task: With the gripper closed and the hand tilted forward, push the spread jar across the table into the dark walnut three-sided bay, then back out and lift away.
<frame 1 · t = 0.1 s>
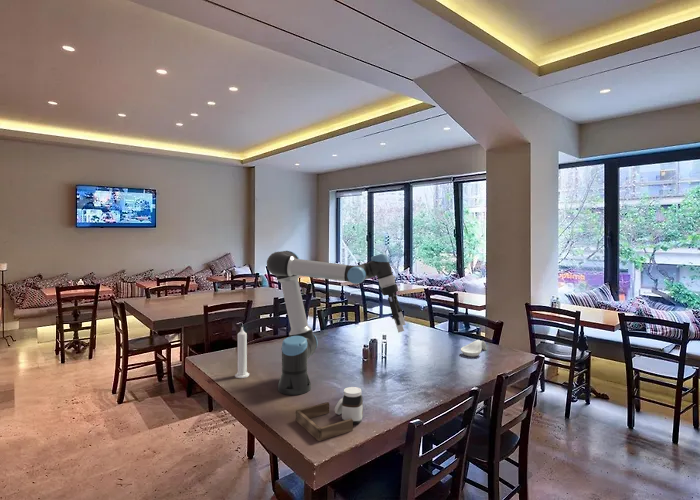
hand: (402, 328, 186), 28 cm above the table, tool tilted 20°, fingers open, 13 cm apart
spread jar: (348, 418, 154), on the table
walnut bay: (326, 424, 149), on the table
candle: (242, 376, 201), on the table
spoon rest: (475, 353, 242), on the table
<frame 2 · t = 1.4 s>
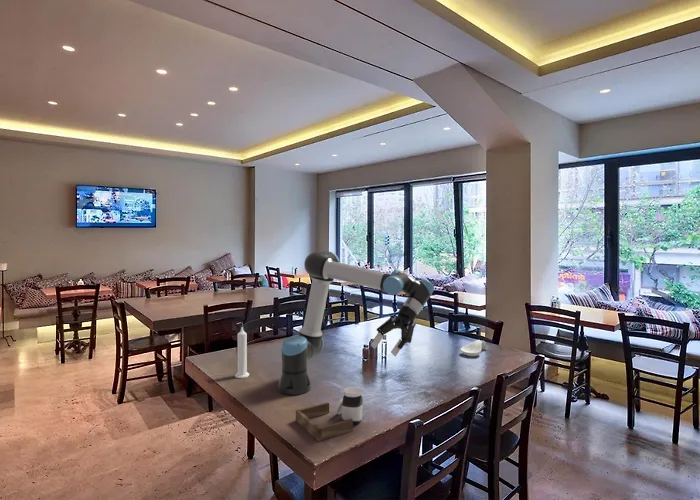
hand: (382, 350, 163), 24 cm above the table, tool tilted 45°, fingers open, 13 cm apart
nothing on the table moved.
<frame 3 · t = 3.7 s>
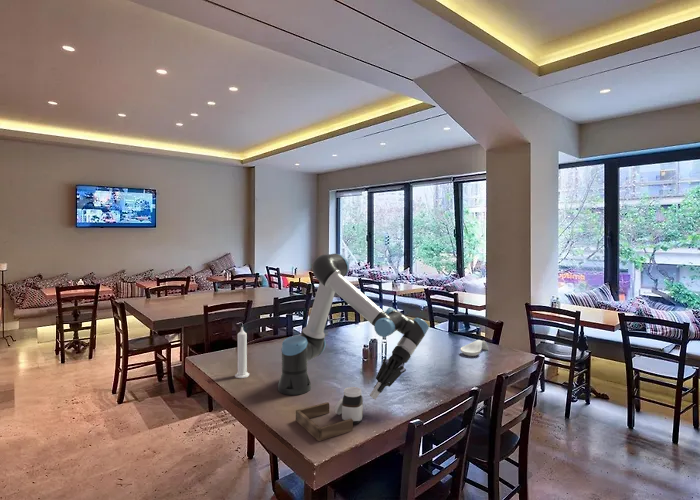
hand: (372, 397, 160), 6 cm above the table, tool tilted 45°, fingers closed
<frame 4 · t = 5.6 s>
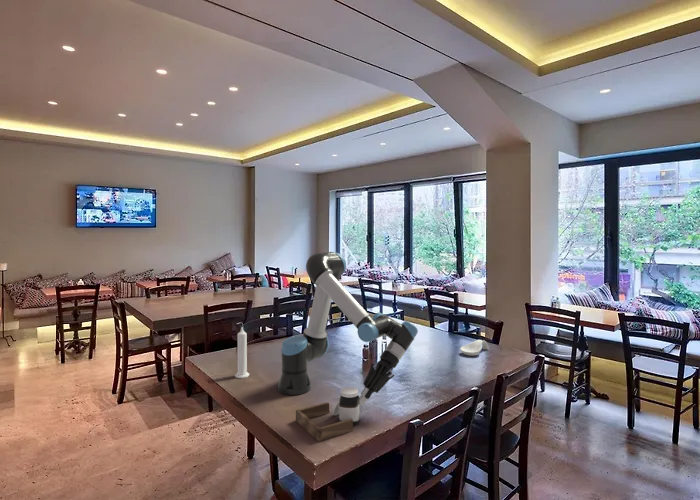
hand: (359, 404, 156), 5 cm above the table, tool tilted 45°, fingers closed
spread jar: (345, 419, 153), on the table, touching gripper
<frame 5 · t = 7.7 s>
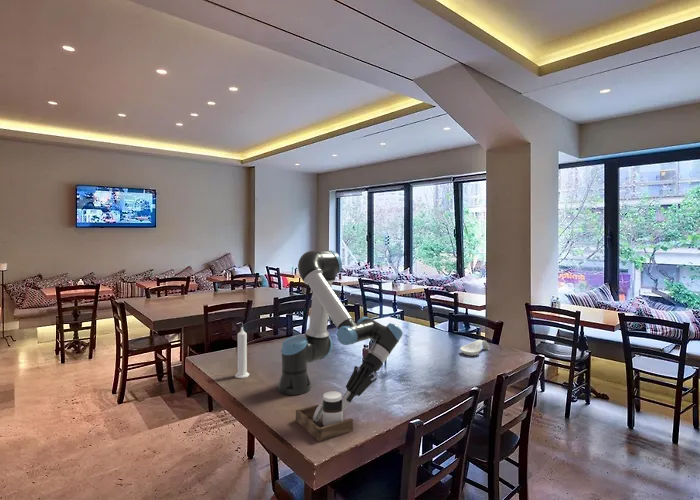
hand: (341, 407, 152), 5 cm above the table, tool tilted 45°, fingers closed
spread jar: (327, 424, 149), on the table, touching gripper
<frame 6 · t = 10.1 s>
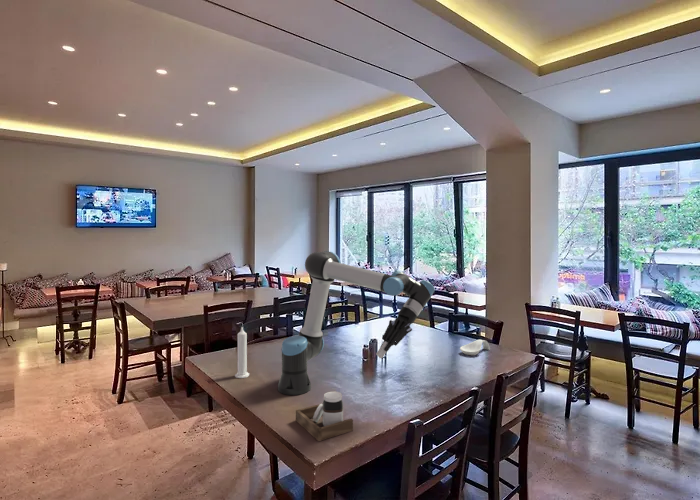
hand: (378, 356, 162), 22 cm above the table, tool tilted 45°, fingers closed
spread jar: (327, 425, 149), on the table
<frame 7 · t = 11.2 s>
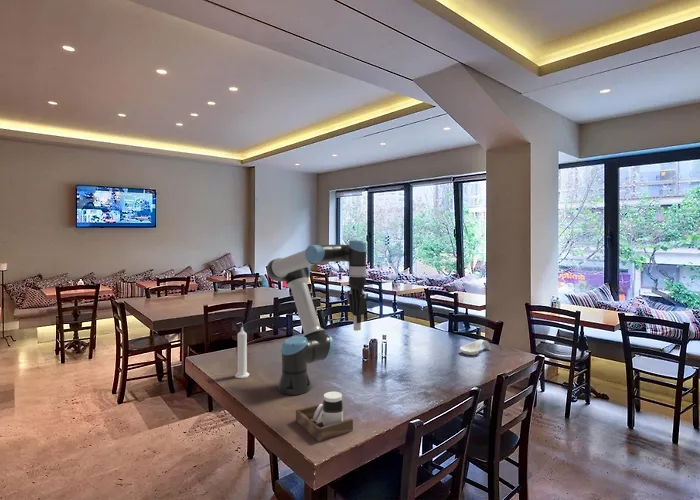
hand: (357, 330, 172), 30 cm above the table, tool pointing down, fingers closed
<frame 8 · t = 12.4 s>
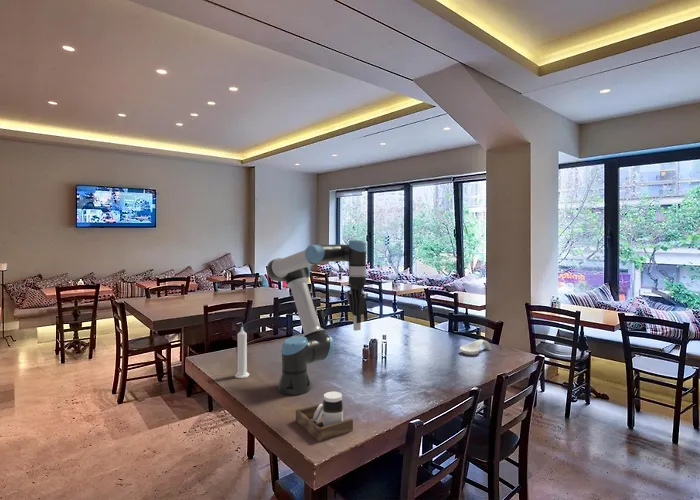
hand: (357, 329, 172), 30 cm above the table, tool pointing down, fingers closed
at the end: spread jar 1.6 cm from the target spot on the walnut bay, point 0.0 cm above the walnut bay's base; spread jar tilted 0° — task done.
